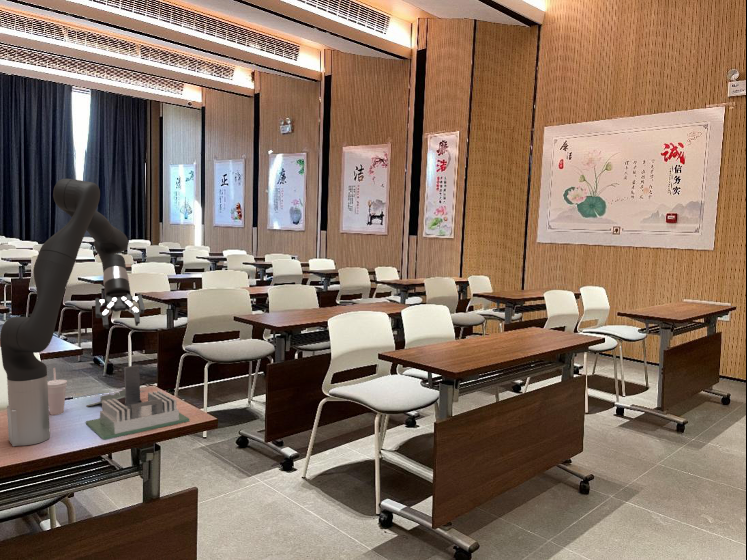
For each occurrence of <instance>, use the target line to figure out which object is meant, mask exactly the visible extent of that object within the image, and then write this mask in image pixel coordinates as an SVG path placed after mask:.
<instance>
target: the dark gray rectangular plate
mask: <svg viewBox="0 0 747 560" xmlns="http://www.w3.org/2000/svg"><path fill="white" fill-rule="evenodd" d="M123 369H124V370H123V371H124V376H123V377H124V390H125V397H124V401H125V402H124V405H125V406H127V405H131V404H136V403H141V402H142V400H141V392H140V391H141V387H140V386H141V385H140V384H141V383H140V382H141V379H140V365H138V364H137V365H131V366H130V365H129V366H125V367H123Z"/></svg>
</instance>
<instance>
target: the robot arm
mask: <svg viewBox="0 0 747 560" xmlns="http://www.w3.org/2000/svg"><path fill="white" fill-rule="evenodd" d="M52 196H53V201H54V202H55V204H56V206H57V207H58V208H59V209H60V210H62V211H63V212H64V213H66V215H69V216H70V217H71V218H70V219H69V221H68V222H67V223H66V225H64V226H63V227H62V228H61V229H59V230H58V231H57V232H55V233H54V234H53V235H52V236H50V237H49V238H48V239H47V240H46V241H45V242H44V243H43V244H42V246H41V247H40V249H39V251H38V254H37V257H36V260H35V263H34V264H33V271H32V272H33V273H32V274H33V278H34V284H35V288H36V289H35V290H36V301H35V303H34V304H35V305H34V307H33V310H32V313H31V315H30V316H28V317H27V316H13V317H10V318H9V319H7V320H5V322H4V323H3V325H2V326H1V329H0V352H1V360H2V361H1V363H2V367H3V370H4V371H5V373H6V379H7V380H6V381H7V383H6V385H7V400H8V404H7V405H6V411H7V412H6V413H7V429H8V430H7V433H8V434H7V435H8V441H10V442H9V443H10V444H12V445H11V446H12V447H17V446H18V447H19V446H30V445H36V444H39V443H43V442H45V441H47V440H49V439H50V437H51V428H50V427H51V425H50V411H49V404H48V368H47V365H46V364H45V363H44V362H42V361H41V360H39V359H38V357H36V356H35V353H36V354H38V353H41V352H43V351H45V350H46V349H47V348H48V346H49V345H50V343H51V342H52V339H53V336H54V333H55V329H56V324H57V320H58V316H59V312H60V308H61V305H62V300H63V297H64V295H65V294H64V293H65V291H66V288H67V285H68V282H69V280H70V277H71V275H72V273H73V270H74V267H75V264H76V260H77V258H78V253H79V250H80V247H81V245H82V242H83V240H84V237H85V235H86V232H87V233H88V234H89V235H90V236H91V238H92V239H93V240H94V241H93V247H94V249H95V251H96V253H97V255H98V256H99V259H100V261H101V266H102V272H103V273H102V274H103V276H102V277H103V279H102V281H103V286H104V288H103V289H104V295H105V298H103V299H100V298H99V297H96V298H95V300H94V301H95V302H94V303H95V304H94V305H95V318H96V319H102V327H103V328H105V329H106V330H108V329H109V328H110V326H109V319H108V317H109V315H111V314H112V312H115V313H117V312H125V311H128V312H129V313H131V314H132V315H133V316H134V325H135V326H136V327H137V326H139V325H140V322H141V318H140V315H143V314H145V304H144V300H143V296H142V294H137V296H132V293H131V287H130V281H129V275H128V272H127V266H126V261H125V260H126V259H125V257H124V256H123V255H122V254H120V253H122V252H125V251H126V250H127V249H128V246H129V240H128V237H127V235H126V234H125V233H124V232H123V231H122V230H120V229H119V228H116V227H115V226H113V225H112V224H111V223H110V221H109V220H108V218H106V216H105V215H103V214H102V213H100V212H99V211H97V209H98V205H99V202H100V197H101V190H100V187H99V186H98V184H97V183H95V182H91V181H86V180H82V179H81V180H80V179H74V178H73V179H72V178H61V179H59V180H58V181H57V182H56V184H55V185H54V188H53V194H52ZM133 302H135V303H136V304H137V306H138V308H137V307H136V306H135V305H134V303H133ZM103 305H105V306H106V307H105V308H104V310H103V311H102V312H101V307H103Z"/></svg>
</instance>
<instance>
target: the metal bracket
mask: <svg viewBox="0 0 747 560" xmlns="http://www.w3.org/2000/svg"><path fill="white" fill-rule="evenodd" d="M142 392H144V390H140V393H142ZM99 398H100V401H97V402H94V403H93V402H92V403H90V404H87V405H86V406H85V407H86V408H87V407H90V406H94V405H95V406H96V405H98V404H102V401H103V400H105V401H106V402H107V400H109V399H110V400H111V401H112V399H114V398H115V399H116V400H117V401H118V400H119V399H123V398H125V389H122V390H119V391H118V392H115V393H114V394H110V393H109V394H106V395H101V396H100V397H99Z"/></svg>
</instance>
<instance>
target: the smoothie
mask: <svg viewBox="0 0 747 560" xmlns="http://www.w3.org/2000/svg"><path fill="white" fill-rule="evenodd" d="M52 371H53V379H52V380H47V382H48V404H49V415H51V416H56V415H57V416H58V415H61V414H63V413H64V412H65V403H66V390H67V385H68V380H66V379H57V373H56V367H53V370H52Z"/></svg>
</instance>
